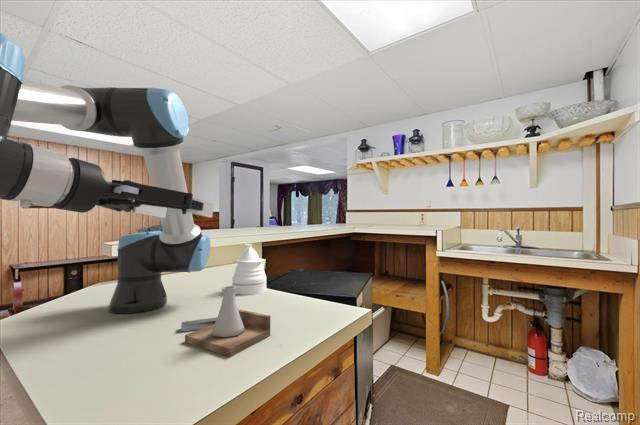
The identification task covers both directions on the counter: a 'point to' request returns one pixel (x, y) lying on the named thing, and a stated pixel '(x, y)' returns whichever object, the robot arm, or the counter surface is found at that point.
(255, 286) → the honey pot
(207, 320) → the grey rectangular bar
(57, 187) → the robot arm
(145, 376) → the counter surface
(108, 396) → the counter surface
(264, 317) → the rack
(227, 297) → the flask
